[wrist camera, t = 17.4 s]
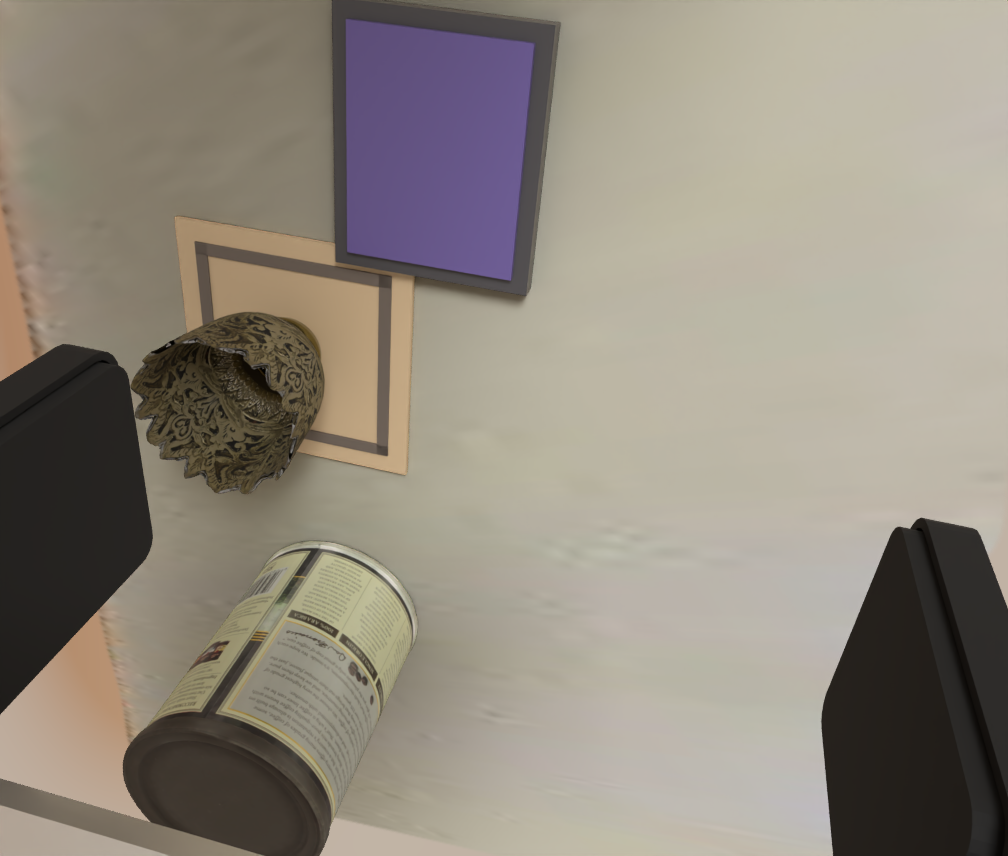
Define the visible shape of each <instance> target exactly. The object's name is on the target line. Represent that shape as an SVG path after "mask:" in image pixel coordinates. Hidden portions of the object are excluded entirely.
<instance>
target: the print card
mask: <svg viewBox="0 0 1008 856" xmlns="http://www.w3.org/2000/svg"><path fill="white" fill-rule="evenodd" d="M174 220H175V229H176V237H177V246H178V255H179V264H180V273H181V282H182V291H183V300H184V309H185V318H186V327H187V333H188V332H190V331H192V330H194V329H196V328H198V327H200V326H202V325H204V324H206V323H209V322H211V321H213V320H216V319H218V318H221V317H224V316H227V315H231V314H235V313H240V312H260V313H266V314H270V315H273V316H276V317H288V318H293V319H295V320H298V321H300V322H301V323H303V324H304V325H306V326H307V327H308V328H309V329H310V330H311V331H312V332H313V333H314V335H315V336H316V338H317V340H318V342H319V345H320V348H321V363H322V366H323V371H324V378H325V386H324V396H323V400H322V403H321V407H320V410H319V412H318V414H317V416H316V419H315V421H314V423H313V424H312V426H311V428H310V430H309V432H308V433H307V435H306V437H305V438H304V440H303V442H302V443H301V445H300V447H299V448H298V450H297V451H296V452H301V453H305V454H310V455H315V456H319V457H324V458H329V459H333V460H338V461H343V462H347V463H352V464H356V465H361V466H366V467H370V468H375V469H380V470H384V471H389V472H394V473H398V474H403V475H406V474H407V472H408V446H409V419H410V392H411V365H412V337H413V310H414V283H415V276H411V275H406V274H400V273H394V272H389V271H383V270H378V269H372V268H366V267H361V266H355V265H349V264H344V263H338V262H335V243H331V242H325V241H320V240H314V239H308V238H302V237H297V236H291V235H285V234H279V233H274V232H268V231H262V230H256V229H251V228H245V227H239V226H233V225H228V224H222V223H216V222H210V221H205V220H199V219H193V218H187V217H182V216H176V217H175V218H174Z"/></svg>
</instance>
